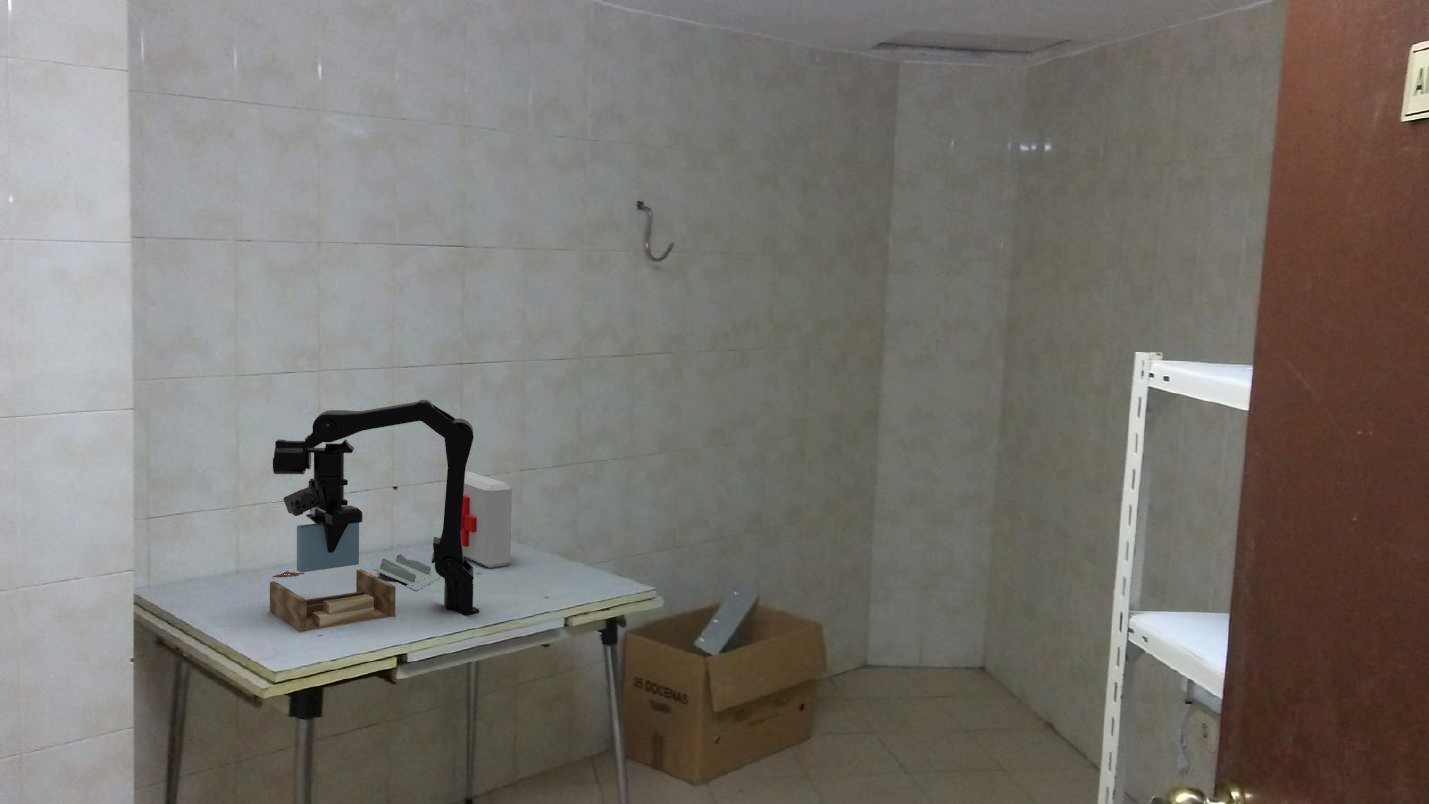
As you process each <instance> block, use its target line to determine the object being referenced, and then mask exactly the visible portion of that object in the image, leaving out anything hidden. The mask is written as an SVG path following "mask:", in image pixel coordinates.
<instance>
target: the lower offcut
mask: <svg viewBox="0 0 1429 804" xmlns="http://www.w3.org/2000/svg"><path fill="white" fill-rule="evenodd" d="M370 618H374V608H369V609H362V610H356V611H350V612H344V613H338V614H332V615H329V614H327V613H325V612H324V611H318V612H313V620H312V622H313V623H314V624H316V625H317V626H319V627H323V626H329V625H335V624H340V623H346V622H352V621H358V620H364V619H370Z"/></svg>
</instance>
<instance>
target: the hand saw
mask: <svg viewBox="0 0 1429 804" xmlns="http://www.w3.org/2000/svg"><path fill="white" fill-rule="evenodd" d="M284 574H285V575H284ZM286 574H287V575H286ZM288 574H290V575H288ZM300 574H301V575H304V574H305V572H290V570H289V571H288V570H287V571H286V570H285V571H284V572H282V573H280V574H279V573H278V574H275V575H273V576H271V577H276V578H281V577H286V578H290V577H293V576H294V577H297V576H300Z"/></svg>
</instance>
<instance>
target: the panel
mask: <svg viewBox="0 0 1429 804" xmlns="http://www.w3.org/2000/svg"><path fill="white" fill-rule="evenodd" d="M358 565H360V523H351V524H348V526H347V528H346V529H345V531H344V533H343V535H342V537H341V539H340V541H339V543H338V545H337V547H336V549H335V551H334V552H332V553H329V552H328V549H327V543H326V535H325V528H324V527H323V526H322V525H321V524H320V523H317V524H315V523H309V524H301V525H296V572H298V573H306V572H307V573H308V572H315V571H320V570H321V571H322V570H328V569H329V570H330V569H336V568H337V569H338V568H343V567H351V566H358Z"/></svg>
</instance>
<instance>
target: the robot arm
mask: <svg viewBox="0 0 1429 804" xmlns="http://www.w3.org/2000/svg"><path fill="white" fill-rule="evenodd" d="M415 422H422V423H424V424H425V425H426V426H428V427H429V428H430V429H431V430H433V431H434V432H435V433H437V434H438V435H440V436H441V437H442V438H443V439H444V445H445V455H446V464H447V472H446V482H445V483H446V486H445V498H444V510H443V511H444V513H443V523H442V524H443V525H442V531H441V534H440V537H437V536H434V537H433V539H432V540H433V541H432V547H433V549H432V550H433V552H432V554H431V555H432V556H431V561H430V562H431V564H434V571H435V570H436V572H437V573H438V574H439V575H440V576H441V577H443V579H444V587H443V588H444V589H443V590H444V591H443V595H444V597H443V605H444V609H445V610H448V611H453V612H454V611H455V612H456V613H458V614H460V615H464V616H466V615H470V613H471V614H475V613H479V612H480V608H477V607H475V606H474V579H475V578H474V566H473V565H471V563H469V562H468V561H467V560H466V559H465V557H464V556H463V546H462V538H461V519H462V506H463V493H464V480H465V472H466V469H467V468H466V467H467V463H468V459H469V456H470V454H471V449H472V445H473V441H474V428H473V425H472V424H471V423H470V422H469V421H468V420H466V419H464V418H455V417H454V416H452V415H451V414H449V413H448V412H446V411H444V410H443V409H441V408H439V407H438V406H436V405H435V404H433V403H432V401H430V400H427V399H420V400H417V401H414V402H408V403H401V404H395V405H389V406H384V407H379V408H378V407H377V408H372V409H367V410H366V409H365V410H347V409H345V410H343V409H342V410H341V409H340V410H337V409H334V410H333V409H329V410H325V411H323V412H321V413H320V414H319V415H318V416H317V417H315V420H314V421H313V423H312V432H311V433H310V434H309V435H308V434H307V436H306V437H305V438H304V440H286V439H277V440H276V441H274V443H275V447H274V453H273V458H272V471H273V474H274V475H305V473H306V472H307V470H311V468H312V454H313V478H310V479H309V480H308V485H307V487H305V488H302V489H300V490H298V491H295V492H292V493H291V494H288V495H287V496H284V497H283V503H284V504H285V507H286V509H287V513H288V514H291V515H292V516H295V517H298V516H299V517H300V516H301V515H303V514H304V513H306V512H307V511H309V514H308V513H307V514H305V516H306V518H308V519H309V520H311V521H312V522H313V524H317V523H320V524H321V525H322V526H323V527H324V528H325V535H326V543H327V549H328V552H329V553H332V552H334V551H335V549H336V547H337V545H338V543H339V541H340V539H341V537H342V535H343V533H344V531H345V529H346V528H347V526H348V524H351V523H359V524H360V523H362V522H363V511H362V510H360V509H359V507H355V506H354V505H348V503H349V502H348V499H345V486H348V485H349V484H348V481H349V479H346V478H345V474H344V473H345V454H351V453H353V452H354V450H355V447H354V446H352V445H351V444H350V443H349V442H348V440H347V439H345V438H347V437H350V436H352V435H353V436H354V435H355V434H357V433H360V432H362V431H368V430H372V429H373V430H374V429H379V428H386V427H391V426H397V425H404V424H411V423H415ZM342 439H343V441H342V442H341V443H333V442H337V441H339V440H342ZM322 443H325V447H318V446H319V445H320V444H322Z"/></svg>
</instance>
